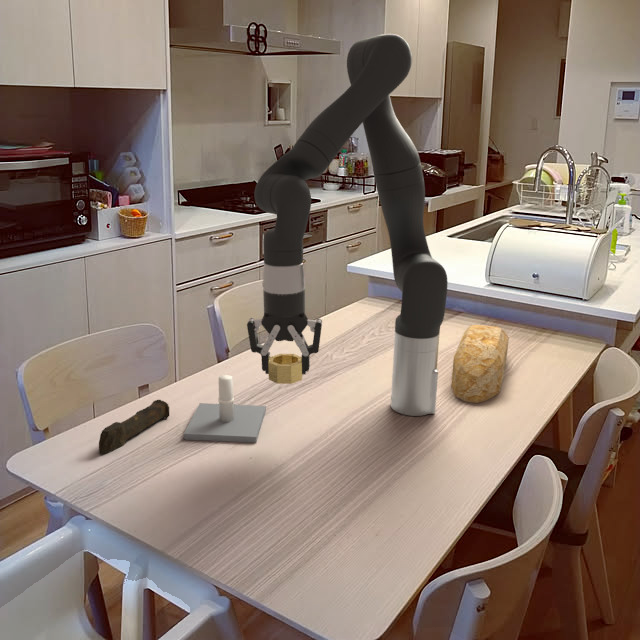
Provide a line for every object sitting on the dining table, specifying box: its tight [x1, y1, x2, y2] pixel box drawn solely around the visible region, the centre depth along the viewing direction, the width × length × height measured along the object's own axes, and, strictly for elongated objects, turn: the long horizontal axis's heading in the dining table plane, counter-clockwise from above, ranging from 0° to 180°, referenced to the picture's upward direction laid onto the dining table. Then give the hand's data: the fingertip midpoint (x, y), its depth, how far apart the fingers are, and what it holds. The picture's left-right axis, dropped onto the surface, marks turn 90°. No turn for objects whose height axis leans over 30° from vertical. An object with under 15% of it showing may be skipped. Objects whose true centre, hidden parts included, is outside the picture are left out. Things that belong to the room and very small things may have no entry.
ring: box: [268, 353, 304, 385], centre depth 133 cm, size 6×6×4 cm
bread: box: [450, 324, 510, 404], centre depth 170 cm, size 36×11×10 cm, turn 162°
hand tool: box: [98, 399, 170, 455], centre depth 138 cm, size 19×4×5 cm, turn 153°
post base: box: [183, 374, 267, 443], centre depth 141 cm, size 14×14×10 cm
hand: (285, 372), depth 133 cm, fingers closed on ring, 6 cm apart
